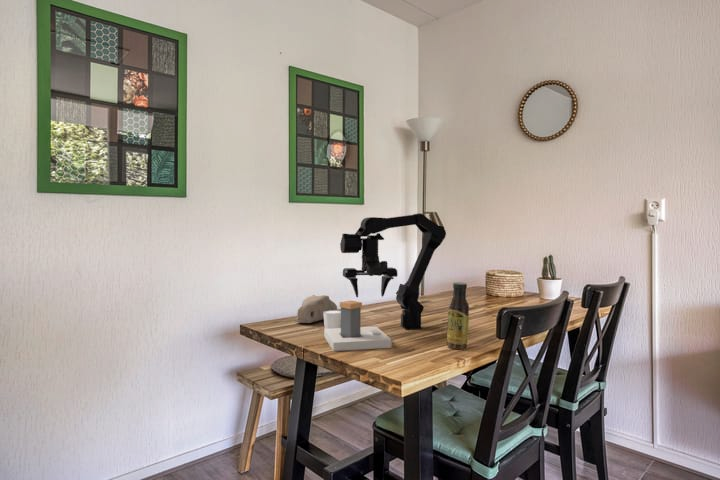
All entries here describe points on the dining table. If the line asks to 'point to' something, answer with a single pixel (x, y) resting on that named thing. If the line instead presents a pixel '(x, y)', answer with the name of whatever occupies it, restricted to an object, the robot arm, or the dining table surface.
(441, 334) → the dining table surface
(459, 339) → the sauce bottle
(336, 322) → the white tapered cup
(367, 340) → the socket plate
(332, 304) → the decorative stone
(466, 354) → the dining table surface
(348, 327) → the plug
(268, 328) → the dining table surface
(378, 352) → the dining table surface
